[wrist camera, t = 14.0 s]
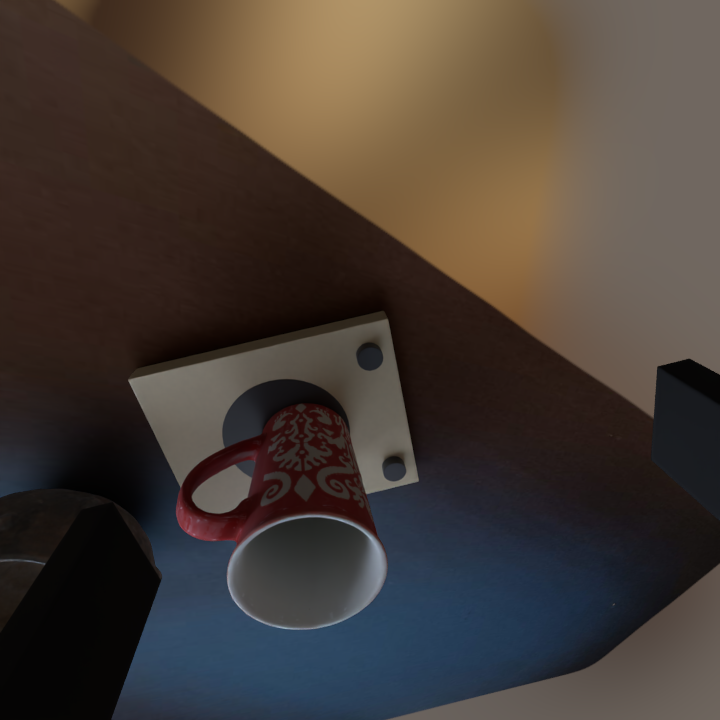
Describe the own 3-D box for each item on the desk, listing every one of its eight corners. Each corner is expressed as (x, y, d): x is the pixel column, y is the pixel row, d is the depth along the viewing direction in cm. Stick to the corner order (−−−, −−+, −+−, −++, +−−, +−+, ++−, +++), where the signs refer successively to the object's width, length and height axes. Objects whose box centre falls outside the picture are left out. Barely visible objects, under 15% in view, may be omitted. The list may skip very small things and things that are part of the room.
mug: (379, 412, 37) (416, 538, 24) (335, 494, 40) (348, 643, 27) (229, 359, 33) (185, 474, 21) (193, 453, 36) (136, 602, 24)
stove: (383, 310, 35) (390, 322, 33) (414, 467, 42) (421, 489, 39) (136, 368, 35) (122, 385, 32) (207, 517, 42) (200, 542, 39)
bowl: (-22, 449, 36) (-131, 546, 27) (176, 461, 39) (137, 553, 30) (4, 573, 42) (-79, 688, 33) (177, 576, 44) (143, 683, 35)
